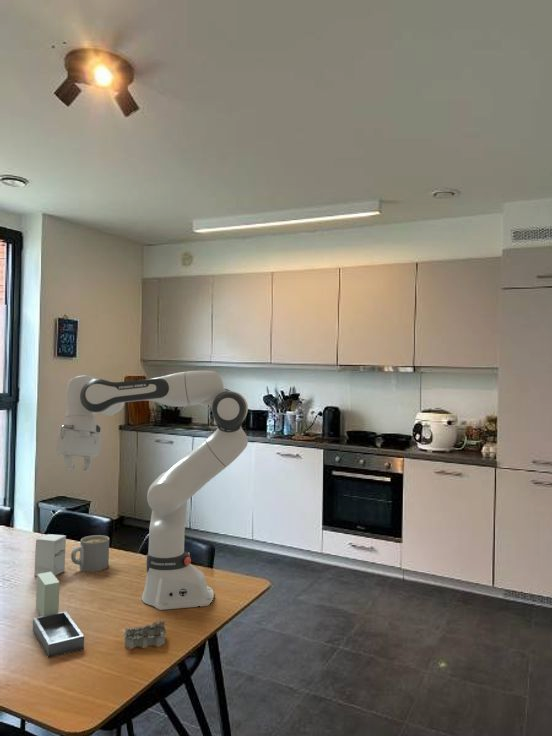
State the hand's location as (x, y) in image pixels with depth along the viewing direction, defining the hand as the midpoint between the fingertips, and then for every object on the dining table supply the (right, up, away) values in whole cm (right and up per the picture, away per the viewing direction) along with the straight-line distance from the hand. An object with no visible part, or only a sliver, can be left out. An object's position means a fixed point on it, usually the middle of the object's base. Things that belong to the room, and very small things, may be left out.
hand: (78, 470), depth 173 cm
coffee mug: (-6, -40, +28) cm, 49 cm away
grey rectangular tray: (+4, -39, -27) cm, 48 cm away
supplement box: (-17, -40, +21) cm, 48 cm away
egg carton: (+27, -41, -27) cm, 56 cm away
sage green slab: (-6, -39, -10) cm, 41 cm away
